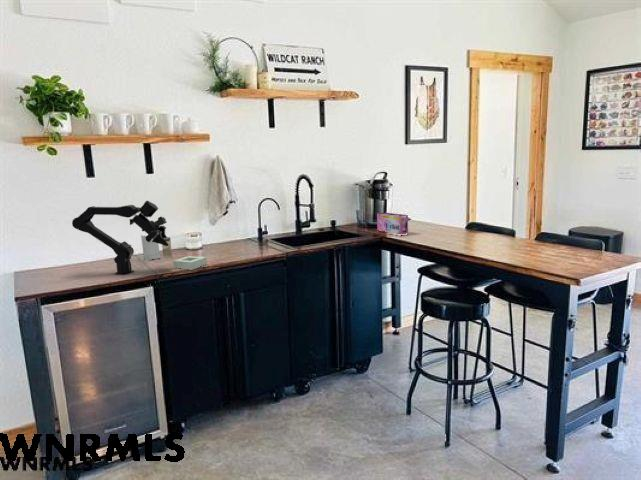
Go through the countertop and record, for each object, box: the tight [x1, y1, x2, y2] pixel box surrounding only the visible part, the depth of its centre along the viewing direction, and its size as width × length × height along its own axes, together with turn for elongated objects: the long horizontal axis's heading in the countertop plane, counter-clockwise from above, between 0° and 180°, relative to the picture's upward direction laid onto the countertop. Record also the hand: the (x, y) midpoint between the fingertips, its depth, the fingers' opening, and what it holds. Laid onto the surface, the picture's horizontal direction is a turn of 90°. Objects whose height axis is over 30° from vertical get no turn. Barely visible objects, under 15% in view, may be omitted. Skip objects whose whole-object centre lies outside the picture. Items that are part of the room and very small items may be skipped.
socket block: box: [172, 255, 208, 271], centre depth 257 cm, size 12×12×4 cm
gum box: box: [376, 212, 409, 234], centre depth 330 cm, size 24×8×14 cm, turn 35°
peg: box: [161, 236, 173, 259], centre depth 248 cm, size 4×4×10 cm
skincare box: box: [140, 233, 161, 261], centre depth 279 cm, size 8×6×15 cm
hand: (169, 244), depth 248 cm, fingers closed on peg, 4 cm apart
